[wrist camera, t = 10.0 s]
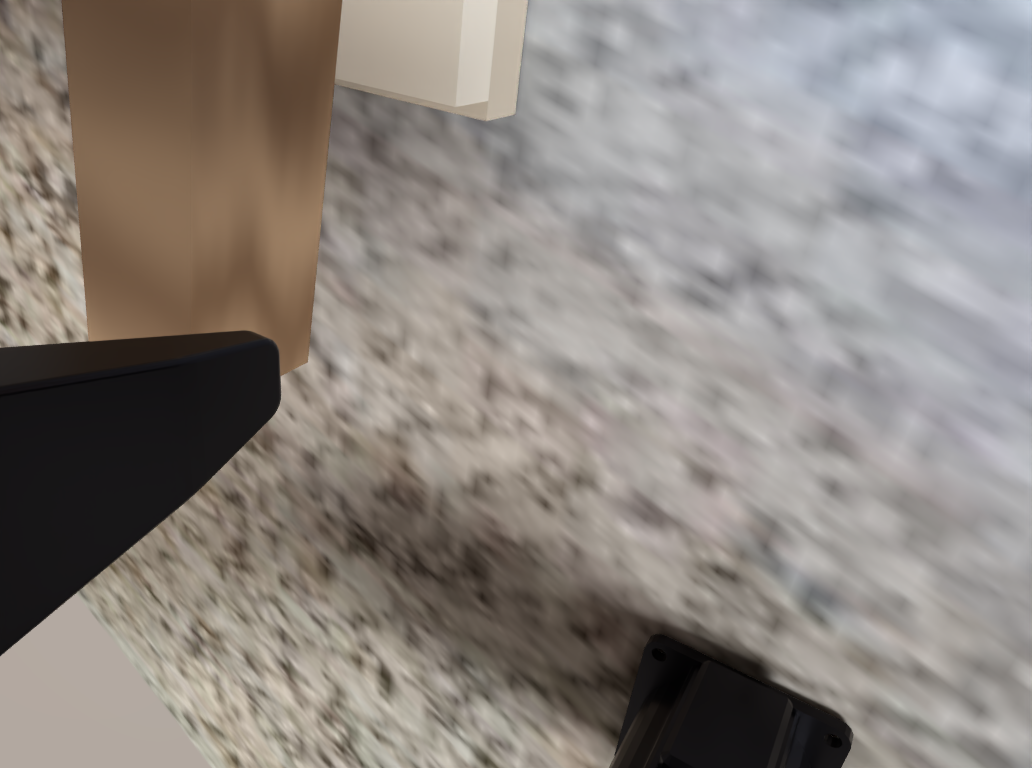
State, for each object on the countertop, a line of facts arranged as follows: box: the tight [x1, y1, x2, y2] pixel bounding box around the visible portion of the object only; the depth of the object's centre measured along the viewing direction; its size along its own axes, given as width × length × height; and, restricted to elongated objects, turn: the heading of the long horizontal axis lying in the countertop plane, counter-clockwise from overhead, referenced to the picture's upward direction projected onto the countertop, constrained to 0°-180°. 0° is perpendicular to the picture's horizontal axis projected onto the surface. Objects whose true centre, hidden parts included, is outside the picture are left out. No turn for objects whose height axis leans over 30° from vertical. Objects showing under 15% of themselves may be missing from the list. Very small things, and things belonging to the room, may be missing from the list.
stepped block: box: [334, 0, 528, 121], centre depth 21 cm, size 4×11×3 cm, turn 83°
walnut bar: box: [62, 0, 342, 376], centre depth 18 cm, size 20×4×4 cm, turn 166°
